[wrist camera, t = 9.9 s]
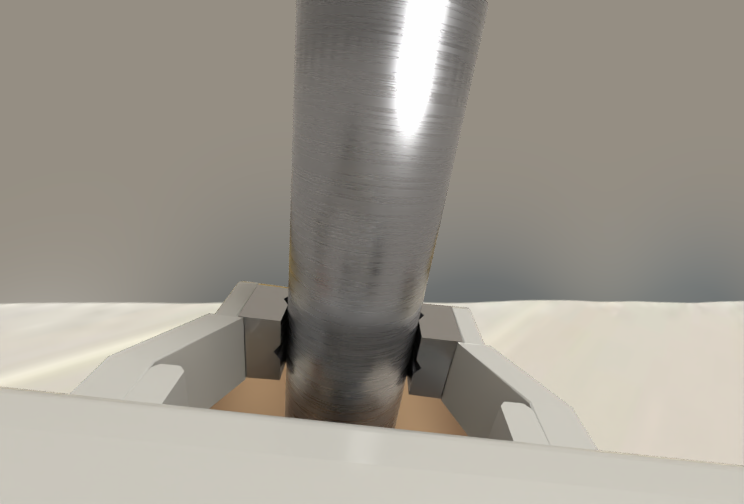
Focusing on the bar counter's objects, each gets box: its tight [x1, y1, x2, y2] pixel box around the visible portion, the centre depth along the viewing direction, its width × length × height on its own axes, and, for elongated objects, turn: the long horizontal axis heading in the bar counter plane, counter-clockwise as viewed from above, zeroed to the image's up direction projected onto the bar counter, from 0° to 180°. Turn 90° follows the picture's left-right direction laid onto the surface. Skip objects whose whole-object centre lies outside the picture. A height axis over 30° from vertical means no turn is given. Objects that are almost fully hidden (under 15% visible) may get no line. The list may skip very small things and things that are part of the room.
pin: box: [285, 0, 488, 429], centre depth 9 cm, size 3×3×16 cm
